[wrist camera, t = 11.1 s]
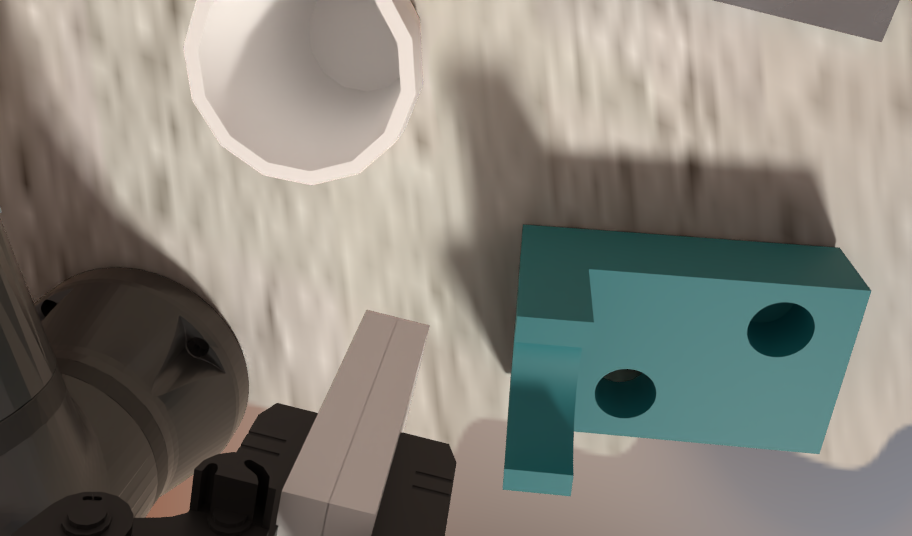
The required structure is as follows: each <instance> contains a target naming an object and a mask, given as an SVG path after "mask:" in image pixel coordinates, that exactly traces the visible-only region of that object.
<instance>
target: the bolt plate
mask: <svg viewBox="0 0 912 536" xmlns="http://www.w3.org/2000/svg"><path fill="white" fill-rule="evenodd" d="M714 1H718V2H723V3H727V4H731V5H735V6H739V7H743V8H747V9H751V10H755V11H759V12H763V13H767V14H771V15H775V16H779V17H783V18H787V19H791V20H795V21H799V22H803V23H807V24H811V25H815V26H819V27H823V28H827V29H831V30H835V31H839V32H843V33H847V34H851V35H855V36H859V37H863V38H867V39H871V40H875V41H879V42H882V40H883V38H884V35H885V33H886V31H887V28H888V26H889V24H890V21H891V19H892V17H893V14H894V12H895V10H896V7H897V5H898V3H899V0H714Z"/></svg>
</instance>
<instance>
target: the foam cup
mask: <svg viewBox="0 0 912 536" xmlns="http://www.w3.org/2000/svg"><path fill="white" fill-rule="evenodd" d="M183 49H184V55H185V61H186V67H187V73H188V79H189V85H190V91H191V97H192V101H193V102H194V104H195V105H196V107H197V109H198V110H199V112H200V113H201V115H202V116H203V118H204V120H205V121H206V123H207V124H208V126H209V128H210V129H211V131H212V132H213V134H214V135H215V137H216V139H217V140H218V142H219V143H220V145H221V146H223V147H224V148H225V149H227V150H228V151H230V152H231V153H232V154H234V155H235V156H237V157H238V158H240V159H241V160H242V161H244V162H245V163H247V164H248V165H249V166H251V167H252V168H254V169H255V170H257V171H258V172H259V173H261V174H262V175H264V176H269V177H274V178H279V179H284V180H289V181H293V182H298V183H303V184H308V185H316V184H320V183H324V182H328V181H332V180H336V179H340V178H344V177H348V176H352V175H356V174H360V173H361V172H362V171H363V170H364V169H365V168H367V167H368V166H369V165H370V164H371V163H372V162H374V161H375V160H376V159H377V158H378V157H379V156H380V155H382V154H383V153H384V152H385V151H386V150H387V149H389V148H390V147H391V146H392V145H393V144H394V143H395V142H397V140H398V139H399V137H400V136H401V134H402V133H403V132H404V130H405V129H406V126H407V124H408V121H409V119H410V116H411V114H412V111H413V109H414V107H415V104H416V102H417V99H418V97H419V94H420V92H421V89H422V87H423V85H424V83H423V65H422V43H421V25H420V18H419V16H418V14H417V12H416V10H415V9H414V7H413V5H412V3H411V1H410V0H196V2H195V6H194V10H193V13H192V17H191V20H190V24H189V28H188V31H187V35H186V38H185V42H184V46H183Z"/></svg>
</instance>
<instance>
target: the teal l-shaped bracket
mask: <svg viewBox="0 0 912 536" xmlns="http://www.w3.org/2000/svg"><path fill="white" fill-rule="evenodd" d="M870 293H871V290H870V288H869V287H868V286H867V284H866V283H865V282H864V280H863V279H862V278H861V276H860V275H859V273H858V272H857V271H856V269H855V268H854V267H853V265H852V264H851V263H850V261H849V260H848V259H847V257H846V256H845V254H844V253H843V252H842V250H841V249H840V248H836V247H822V246H808V245H795V244H781V243H768V242H754V241H740V240H727V239H713V238H700V237H686V236H672V235H659V234H645V233H632V232H618V231H604V230H591V229H577V228H564V227H550V226H536V225H523V231H522V243H521V255H520V268H519V280H518V293H517V305H516V319H515V331H514V344H513V356H512V368H511V381H510V394H509V408H508V422H507V436H506V451H505V465H504V479H503V490H512V491H522V492H533V493H544V494H553V495H564V496H571V489H572V482H573V438H574V431H575V432H586V433H597V434H608V435H618V436H629V437H640V438H652V439H662V440H674V441H684V442H695V443H705V444H716V445H727V446H738V447H748V448H760V449H770V450H781V451H792V452H803V453H813V454H819V453H820V450H821V447H822V444H823V441H824V438H825V435H826V431H827V428H828V425H829V422H830V419H831V416H832V413H833V409H834V406H835V403H836V400H837V397H838V394H839V391H840V388H841V384H842V381H843V378H844V375H845V372H846V369H847V366H848V362H849V359H850V356H851V353H852V350H853V347H854V344H855V340H856V337H857V334H858V331H859V328H860V325H861V322H862V319H863V315H864V312H865V309H866V306H867V303H868V300H869V297H870ZM620 369H632V370H637V371H640V372H642V374H641V375H640V376H638V377H636V378H635V379H632V380H629V381H625V382H615V381H610V380H607V379H605V378H603V377H604V376H605V375H607V374H608V373H610V372H613V371H615V370H620Z"/></svg>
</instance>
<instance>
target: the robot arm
mask: <svg viewBox="0 0 912 536" xmlns="http://www.w3.org/2000/svg"><path fill="white" fill-rule="evenodd" d="M0 213H2V212H1V208H0ZM429 326H430V325H426V324H422V323H418V322H414V321H410V320H406V319H402V318H398V317H394V316H390V315H386V314H382V313H378V312H374V311H370V310H366V312H365V314H364V316H363V319H362V321H361V323H360V325H359V327H358V329H357V331H356V334H355V336H354V338H353V340H352V342H351V344H350V346H349V348H348V351H347V353H346V355H345V357H344V359H343V361H342V363H341V366H340V368H339V370H338V372H337V374H336V376H335V378H334V381H333V383H332V385H331V387H330V389H329V391H328V393H327V395H326V398H325V400H324V402H323V404H322V406H321V408H320V410H319V413H315V412H311V411H307V410H303V409H299V408H295V407H291V406H287V405H283V404H279V403H276V404H275V405H273V406H272V407H270V408H268V409H267V410H265V411H264V412H262V413H261V414H259V415H258V417H257V419H256V420H255V422H254V423H253V425H252V427H251V428H250V430H249V433H248V434H247V435H246V437H245V439H244V440H243V442H242V444H241V447H240V448H239V449H238V451H237V452H231V453H223V454H220V453H221V452H222V451H223V450H224V448H225V447H226V446H227V444H228V443H229V441H230V439H231V438H232V436H233V434H234V433H235V431H236V430H237V428H238V427H239V425H240V423H241V420H242V419H243V416H244V413H245V410H246V407H247V402H248V394H249V381H248V373H247V368H246V363H245V360H244V357H243V354H242V351H241V349H240V347H239V345H238V343H237V341H236V339H235V337H234V335H233V334H232V332H231V331H230V329H229V328H228V326H227V325H226V323H225V322H224V321H223V320H222V318H221V317H220V316H219V315H218V314H217V313H216V312H215V311H214V310H213V309H212V308H211V307H210V306H209V305H208V304H207V303H206V302H205V301H204V300H202V299H201V298H200V297H198V296H197V295H196V294H194V293H193V292H191V291H190V290H188V289H187V288H185V287H183V286H182V285H180V284H178V283H176V282H174V281H172V280H170V279H168V278H165V277H163V276H160V275H157V274H154V273H151V272H147V271H143V270H138V269H131V268H101V269H95V270H91V271H87V272H84V273H80V274H78V275H76V276H73V277H71V278H69V279H68V280H66V281H64V282H63V283H61V284H60V285H58V286H57V287H56V288H54V289H53V290H51V291H50V292H49V293H47V294H46V295H45V296H43V297H42V298H41V299H39V300H38V301H37V302H36V303H35V304H34V303H33V301H32V298H31V296H30V293H29V291H28V288H27V286H26V283H25V281H24V278H23V276H22V273H21V271H20V268H19V266H18V263H17V261H16V258H15V256H14V253H13V250H12V248H11V245H10V242H9V240H8V237H7V234H6V232H5V229H4V226H3V224H2V221H1V219H0V536H445V531H446V524H447V518H448V511H449V505H450V498H451V492H452V487H453V480H454V473H455V468H456V461H455V458H454V455H453V453H452V451H451V448H450V446H449V444H446V443H442V442H438V441H434V440H430V439H426V438H422V437H418V436H414V435H410V434H406V433H403V432H404V429H405V425H406V421H407V417H408V413H409V409H410V405H411V401H412V397H413V392H414V388H415V384H416V380H417V376H418V372H419V368H420V363H421V359H422V355H423V351H424V347H425V343H426V339H427V334H428V330H429ZM193 474H194V476H193V485H192V493H191V502H190V510H189V512H187V513H185V514H181V515H177V516H173V517H161V518H145V517H146V516H147V514H148V512H149V511H150V509H151V508H152V506H153V505H154V503H155V502H156V501H157V499H158V498H159V497H160V496H162V495H163V494H165V493H167V492H168V491H170V490H171V489H173V488H174V487H176V486H177V485H179V484H180V483H182V482H183V481H184V480H186V479H187V478H189V477H190V476H192V475H193Z"/></svg>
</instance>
